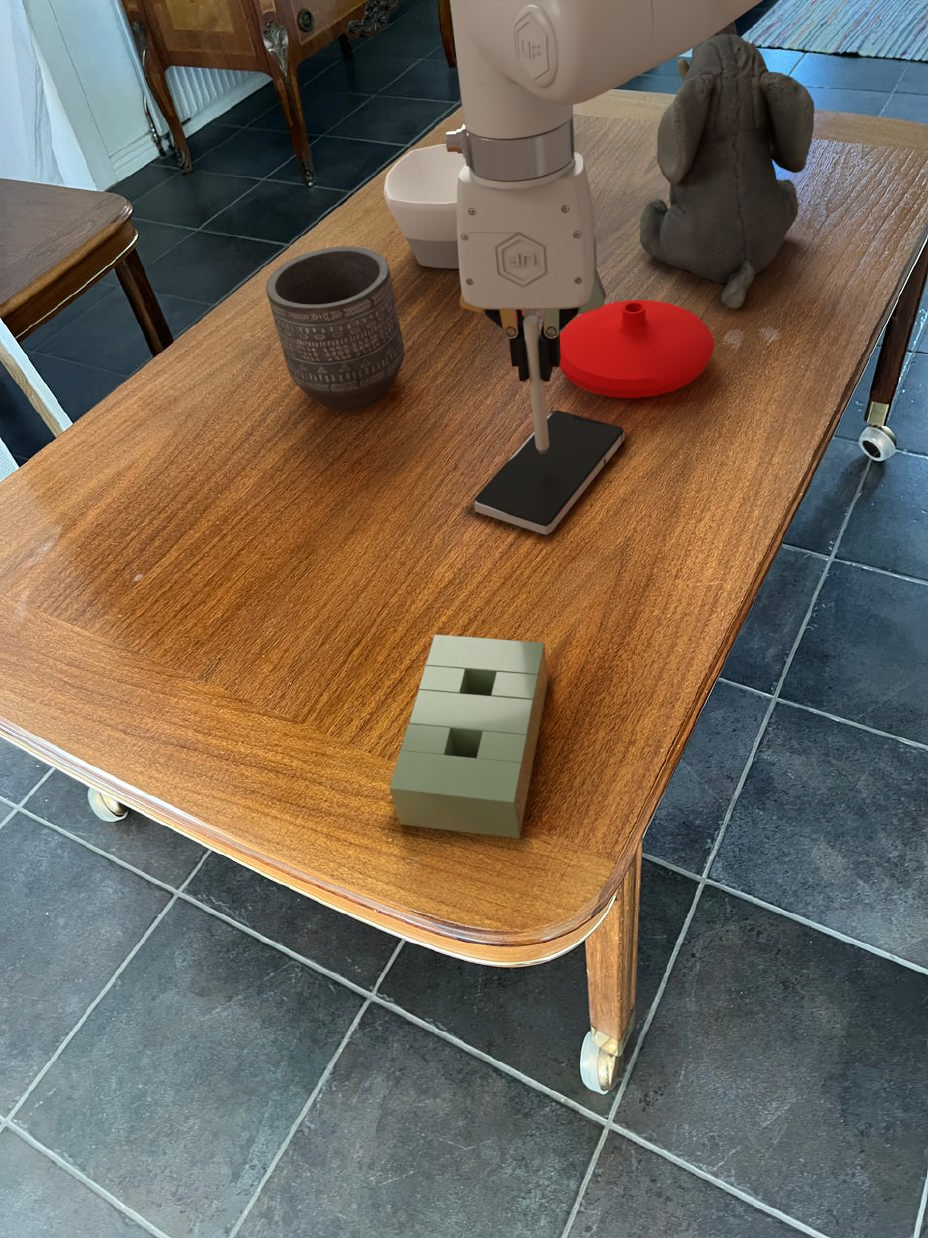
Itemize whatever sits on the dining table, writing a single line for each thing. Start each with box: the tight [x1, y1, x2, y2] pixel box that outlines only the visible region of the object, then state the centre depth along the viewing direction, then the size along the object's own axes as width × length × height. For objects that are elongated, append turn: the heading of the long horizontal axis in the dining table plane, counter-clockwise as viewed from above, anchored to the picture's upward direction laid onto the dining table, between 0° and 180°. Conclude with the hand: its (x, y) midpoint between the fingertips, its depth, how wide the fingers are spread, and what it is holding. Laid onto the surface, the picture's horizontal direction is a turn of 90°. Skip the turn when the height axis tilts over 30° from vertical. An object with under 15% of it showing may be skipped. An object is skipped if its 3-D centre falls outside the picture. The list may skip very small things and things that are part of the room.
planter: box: [265, 245, 405, 412], centre depth 98 cm, size 12×12×13 cm
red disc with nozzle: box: [558, 299, 715, 399], centre depth 96 cm, size 16×16×7 cm
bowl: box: [383, 143, 466, 270], centre depth 118 cm, size 18×18×9 cm
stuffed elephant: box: [639, 20, 815, 310], centre depth 103 cm, size 19×21×27 cm
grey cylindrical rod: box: [523, 315, 549, 454], centre depth 82 cm, size 1×1×14 cm
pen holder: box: [388, 633, 549, 839], centre depth 67 cm, size 13×8×4 cm, turn 169°
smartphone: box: [473, 409, 625, 535], centre depth 88 cm, size 8×1×15 cm
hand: (537, 371), depth 81 cm, fingers closed on grey cylindrical rod, 1 cm apart
